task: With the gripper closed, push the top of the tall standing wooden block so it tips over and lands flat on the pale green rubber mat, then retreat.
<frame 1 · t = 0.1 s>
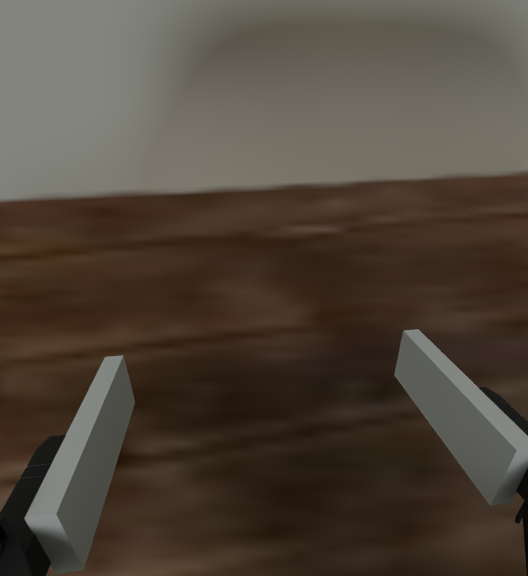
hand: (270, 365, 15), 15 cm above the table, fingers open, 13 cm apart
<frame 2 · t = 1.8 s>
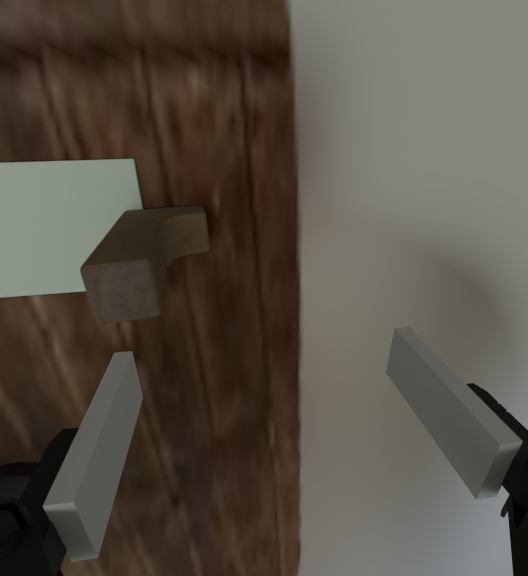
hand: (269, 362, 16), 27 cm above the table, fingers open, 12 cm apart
mat: (52, 231, 37), on the table
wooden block: (167, 225, 38), on the table, touching mat
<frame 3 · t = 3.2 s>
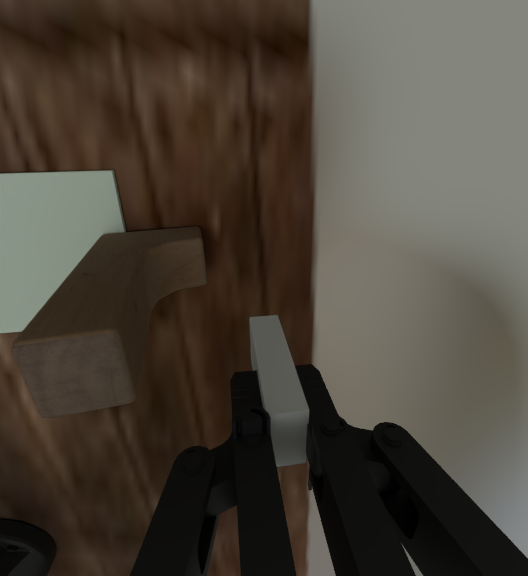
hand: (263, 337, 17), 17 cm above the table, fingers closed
mat: (13, 258, 30), on the table
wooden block: (155, 251, 31), on the table, touching mat
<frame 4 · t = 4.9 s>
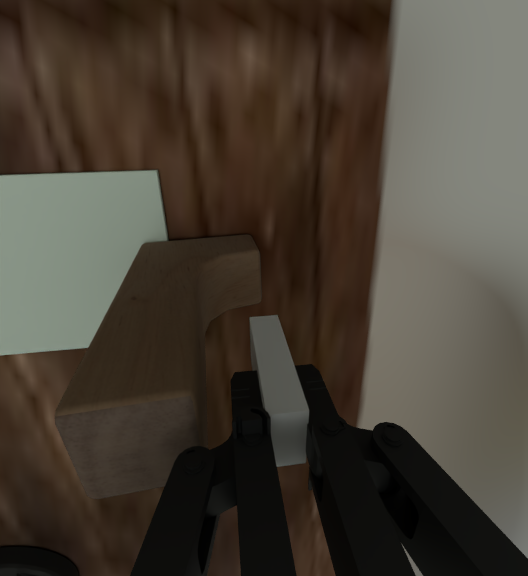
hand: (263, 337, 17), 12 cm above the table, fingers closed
mat: (41, 270, 26), on the table
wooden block: (200, 261, 28), on the table, touching gripper, mat
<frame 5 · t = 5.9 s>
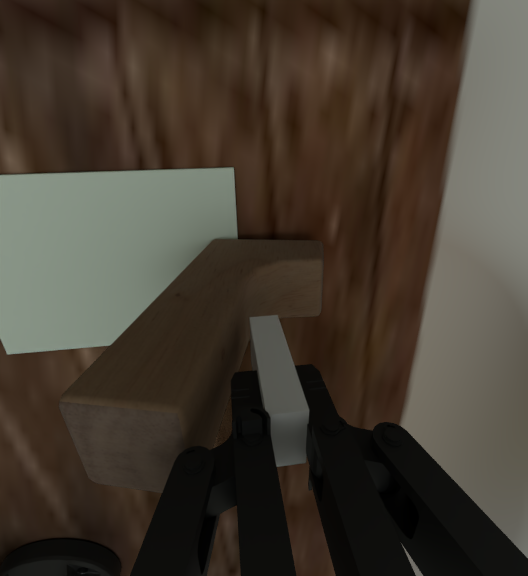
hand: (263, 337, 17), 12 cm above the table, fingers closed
mat: (113, 265, 27), on the table
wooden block: (267, 263, 27), point 2 cm above the table, touching mat
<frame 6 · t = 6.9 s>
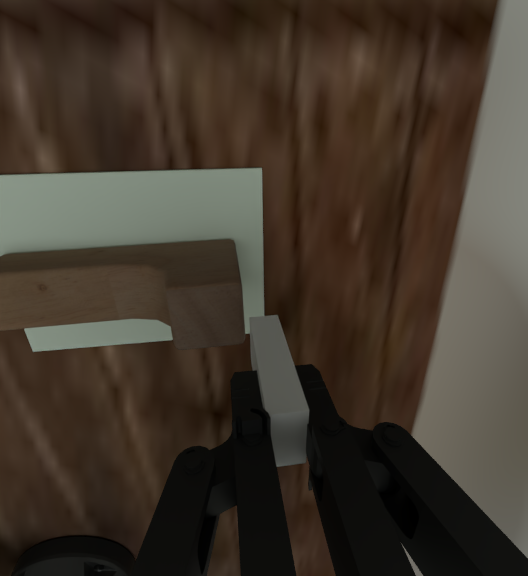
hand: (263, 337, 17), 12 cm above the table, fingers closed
mat: (140, 264, 27), on the table
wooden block: (242, 284, 24), point 5 cm above the table, touching mat
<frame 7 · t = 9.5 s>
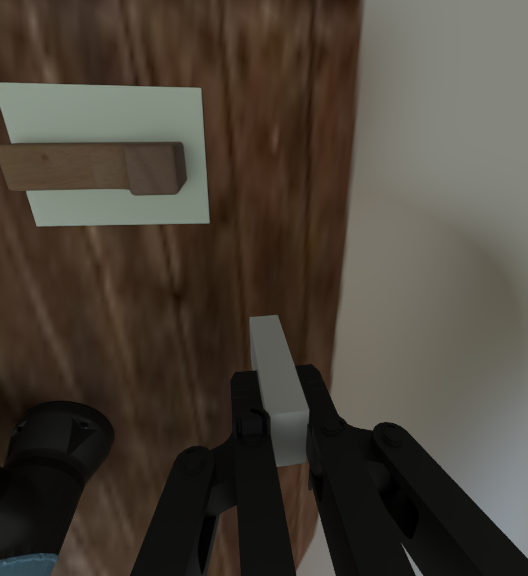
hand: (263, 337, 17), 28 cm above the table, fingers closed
mat: (115, 160, 38), on the table
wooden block: (183, 166, 34), point 5 cm above the table, touching mat
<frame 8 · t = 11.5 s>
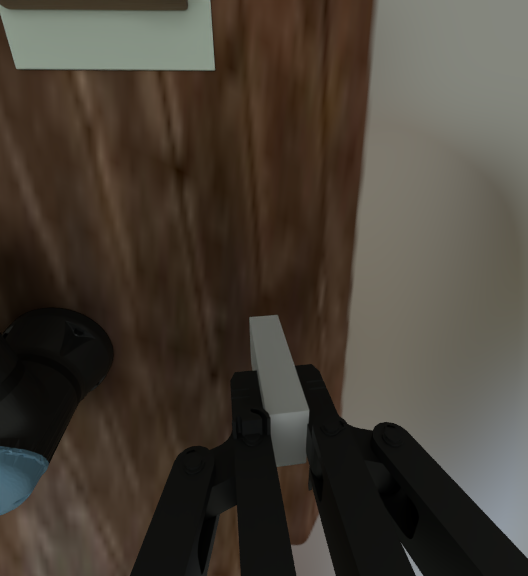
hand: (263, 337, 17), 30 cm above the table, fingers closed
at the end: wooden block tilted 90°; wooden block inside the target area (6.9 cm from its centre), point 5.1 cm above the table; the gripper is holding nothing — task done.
